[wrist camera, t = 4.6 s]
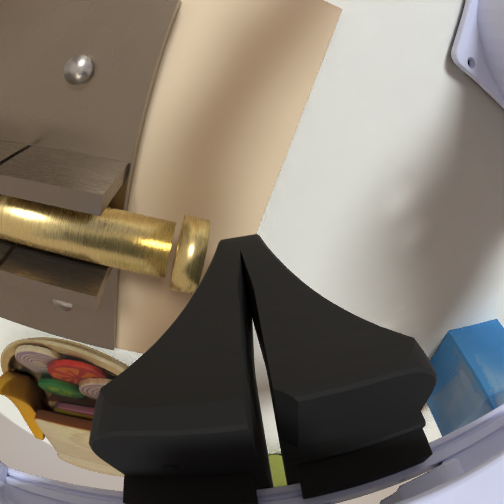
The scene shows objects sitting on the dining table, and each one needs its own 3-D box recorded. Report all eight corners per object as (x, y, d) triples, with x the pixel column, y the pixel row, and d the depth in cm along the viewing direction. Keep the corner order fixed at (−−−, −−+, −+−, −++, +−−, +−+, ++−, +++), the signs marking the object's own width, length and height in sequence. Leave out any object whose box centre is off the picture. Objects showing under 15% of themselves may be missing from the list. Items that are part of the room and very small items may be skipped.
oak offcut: (337, 11, 8) (342, 9, 8) (206, 357, 17) (206, 364, 16) (-54, -14, 4) (-60, -14, 3) (-56, 284, 12) (-60, 289, 12)
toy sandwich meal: (167, 344, 16) (160, 420, 12) (167, 438, 23) (166, 485, 19) (-17, 309, 14) (-48, 364, 10) (38, 413, 21) (28, 455, 17)
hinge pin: (210, 207, 10) (210, 245, 8) (194, 265, 11) (191, 310, 9) (-69, 153, 7) (-104, 174, 5) (-66, 202, 8) (-96, 228, 6)
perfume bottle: (464, 366, 23) (516, 466, 13) (416, 381, 22) (467, 499, 12) (496, 318, 20) (565, 427, 9) (448, 330, 19) (522, 465, 9)
